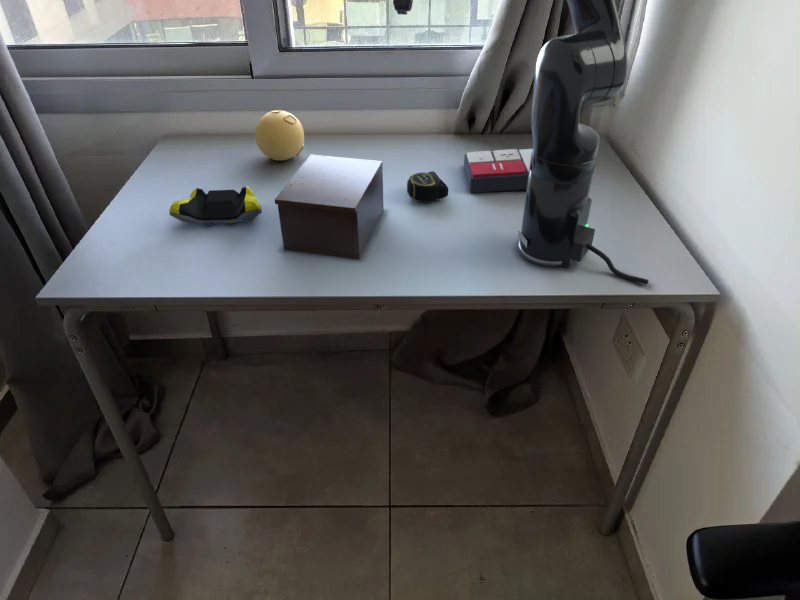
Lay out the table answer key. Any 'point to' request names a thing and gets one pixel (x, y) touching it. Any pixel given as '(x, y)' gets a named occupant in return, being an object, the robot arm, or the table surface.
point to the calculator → (497, 170)
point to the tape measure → (426, 187)
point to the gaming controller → (217, 206)
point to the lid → (330, 183)
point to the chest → (333, 226)
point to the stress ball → (279, 135)
